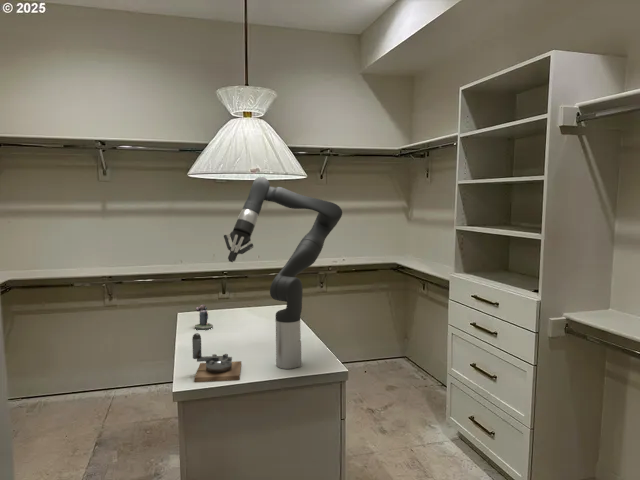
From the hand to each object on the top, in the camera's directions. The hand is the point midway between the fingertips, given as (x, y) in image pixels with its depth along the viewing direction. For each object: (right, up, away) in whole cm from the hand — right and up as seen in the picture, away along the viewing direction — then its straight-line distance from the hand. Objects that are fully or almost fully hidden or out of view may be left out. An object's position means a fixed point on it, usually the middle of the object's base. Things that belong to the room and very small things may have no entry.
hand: (230, 261), depth 176 cm
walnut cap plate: (-1, -39, -17) cm, 43 cm away
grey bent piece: (-3, -37, -17) cm, 41 cm away
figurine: (-21, -35, +41) cm, 58 cm away
